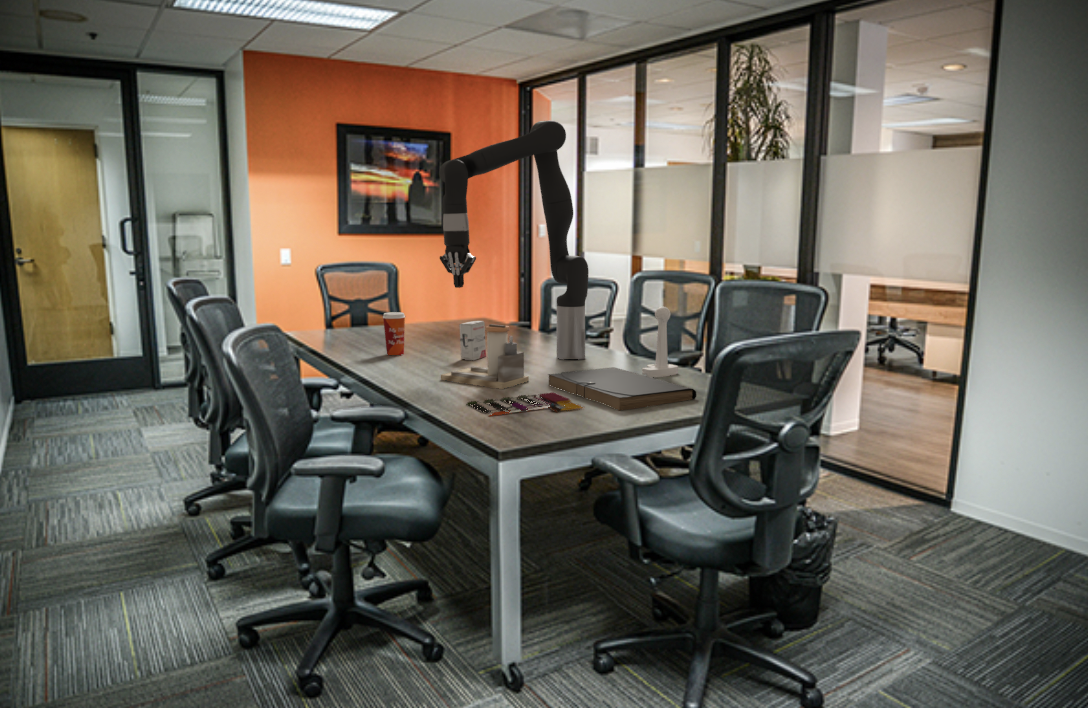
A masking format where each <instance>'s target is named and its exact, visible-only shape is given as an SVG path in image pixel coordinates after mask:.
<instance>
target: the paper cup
mask: <svg viewBox="0 0 1088 708" xmlns="http://www.w3.org/2000/svg"><path fill="white" fill-rule="evenodd" d="M405 318H406V315H405V313H404V312H401V311H400V312H399V311H398V312H397V311H396V312H395V311H392V312H389V311H388V312H384V313H383V316H382V319H383V326H384V328H383V329H384V339H385V349H386V355H387V354H388V355H387V356H389V355H400V356H402V355H401V354H403V355H404V354H405V332H406V331H405V327H406V324H405V322H406V320H405Z"/></svg>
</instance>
